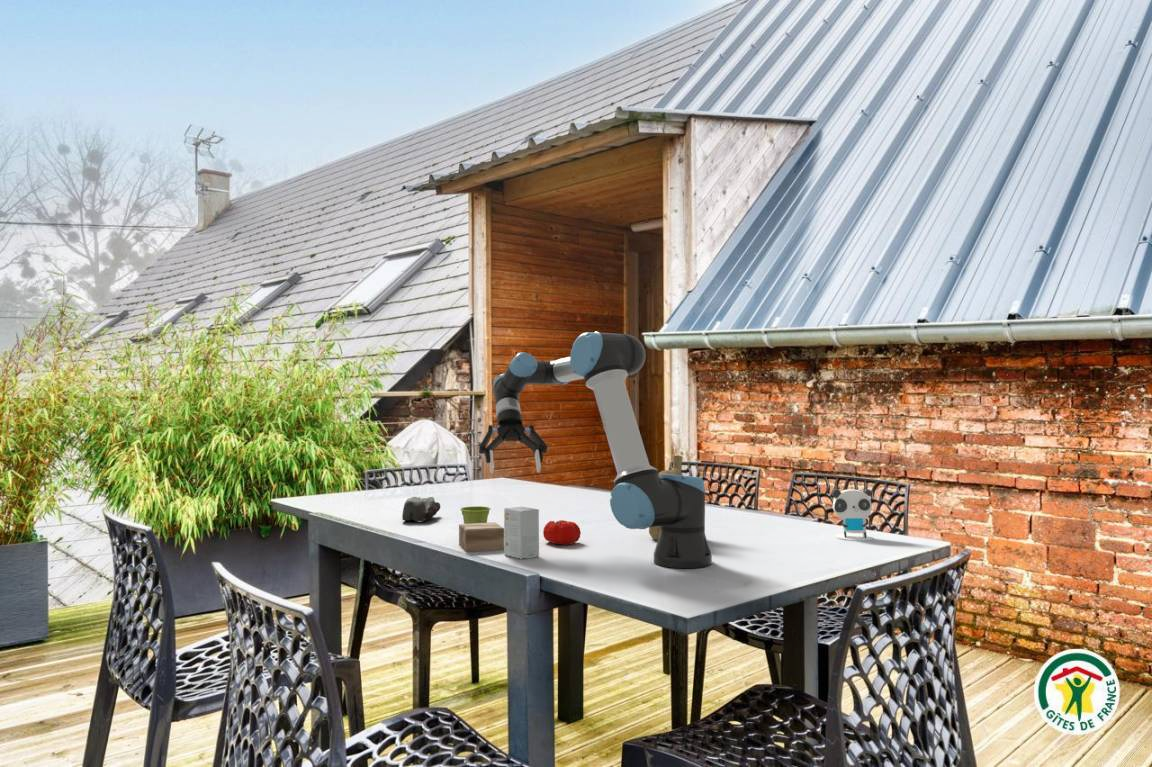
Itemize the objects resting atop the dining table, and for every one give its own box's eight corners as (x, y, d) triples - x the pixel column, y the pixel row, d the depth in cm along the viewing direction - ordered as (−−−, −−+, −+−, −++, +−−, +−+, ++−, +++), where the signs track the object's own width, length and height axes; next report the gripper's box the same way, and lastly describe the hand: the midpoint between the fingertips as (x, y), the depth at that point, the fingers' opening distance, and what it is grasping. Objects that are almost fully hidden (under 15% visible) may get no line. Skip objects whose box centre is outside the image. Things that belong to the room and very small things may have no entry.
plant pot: (496, 535, 257) (496, 507, 257) (477, 539, 249) (477, 511, 249) (473, 532, 262) (473, 505, 262) (454, 537, 254) (454, 509, 254)
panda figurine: (835, 540, 247) (834, 490, 248) (829, 534, 258) (829, 486, 259) (876, 541, 245) (876, 491, 246) (869, 535, 257) (868, 487, 257)
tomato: (560, 539, 250) (560, 517, 250) (586, 543, 242) (586, 521, 243) (536, 543, 243) (536, 521, 244) (562, 548, 236) (562, 525, 236)
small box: (539, 556, 223) (539, 509, 223) (520, 559, 219) (520, 511, 219) (522, 552, 229) (522, 505, 229) (503, 555, 225) (503, 507, 225)
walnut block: (504, 549, 233) (504, 527, 233) (465, 551, 230) (465, 529, 230) (495, 542, 243) (495, 522, 244) (459, 545, 240) (459, 523, 240)
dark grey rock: (432, 524, 279) (432, 501, 279) (399, 524, 279) (400, 501, 279) (441, 516, 297) (441, 494, 297) (411, 516, 297) (411, 494, 297)
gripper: (547, 424, 256) (556, 477, 241) (467, 424, 250) (471, 479, 236) (550, 407, 251) (560, 461, 236) (469, 407, 245) (473, 462, 231)
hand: (516, 470), depth 236 cm, fingers open, 13 cm apart
